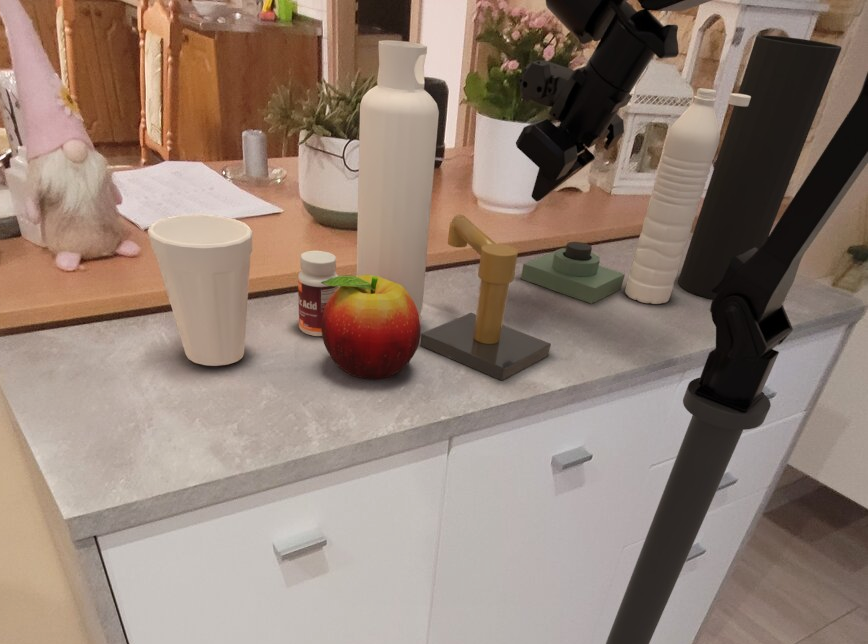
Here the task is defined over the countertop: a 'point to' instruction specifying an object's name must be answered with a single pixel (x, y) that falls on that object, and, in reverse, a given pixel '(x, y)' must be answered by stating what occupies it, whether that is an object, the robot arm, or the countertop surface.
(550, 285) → the green button mount
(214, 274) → the cup
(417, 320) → the fruit
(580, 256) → the dark round button
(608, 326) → the countertop surface
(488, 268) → the spout
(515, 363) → the tap base
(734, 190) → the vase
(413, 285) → the bottle
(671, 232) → the water bottle
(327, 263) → the pill bottle
